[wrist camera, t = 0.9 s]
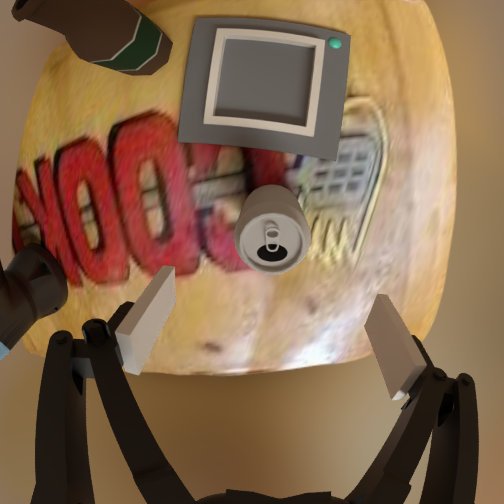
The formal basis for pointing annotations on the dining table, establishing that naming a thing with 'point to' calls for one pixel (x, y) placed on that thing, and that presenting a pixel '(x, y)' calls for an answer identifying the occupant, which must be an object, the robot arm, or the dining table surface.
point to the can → (272, 230)
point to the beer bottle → (102, 32)
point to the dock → (265, 86)
